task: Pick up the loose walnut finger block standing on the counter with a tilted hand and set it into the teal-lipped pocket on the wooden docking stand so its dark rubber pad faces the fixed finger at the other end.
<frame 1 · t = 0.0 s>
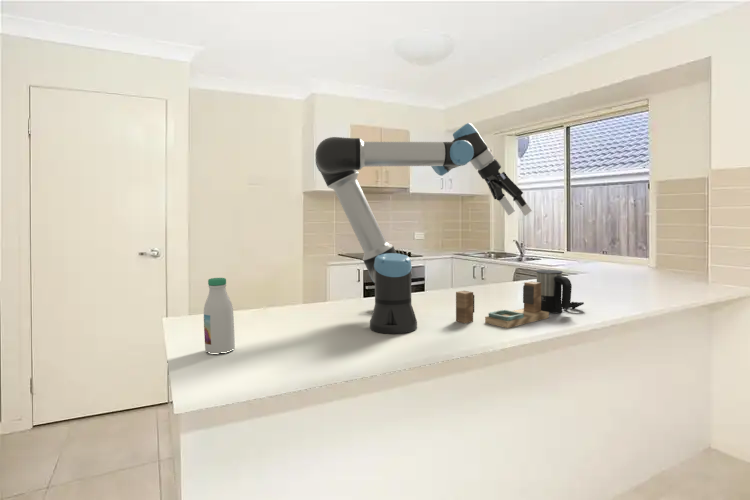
hand: (519, 213, 162), 36 cm above the countertop, fingers open, 13 cm apart
milk bottle: (220, 351, 125), on the countertop
wooden docking stand: (517, 320, 154), on the countertop
milk frother: (559, 311, 168), on the countertop
loose finger: (464, 321, 153), on the countertop
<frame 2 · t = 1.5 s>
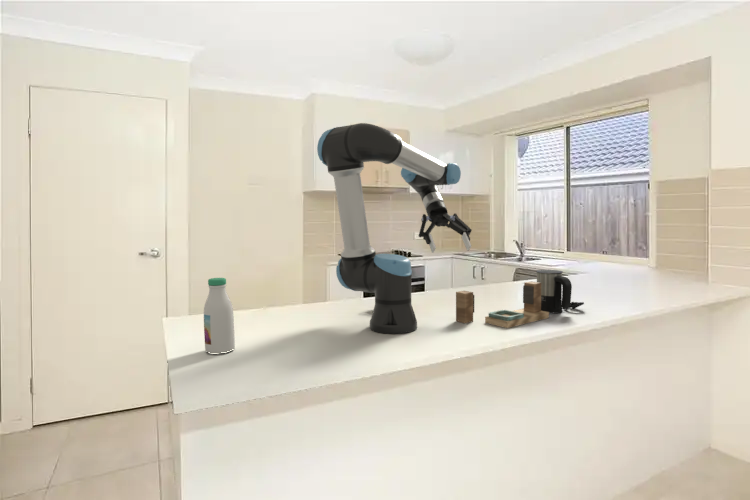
hand: (451, 249, 162), 23 cm above the countertop, fingers open, 13 cm apart
nothing on the countertop moved.
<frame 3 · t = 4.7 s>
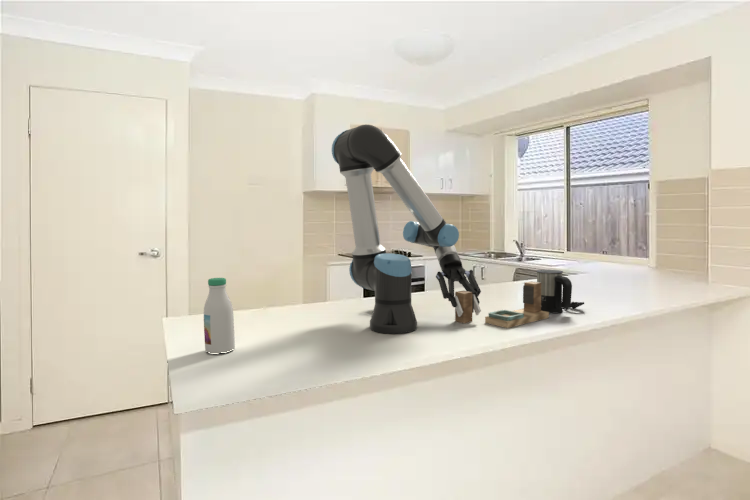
hand: (469, 313, 150), 3 cm above the countertop, fingers closed on loose finger, 6 cm apart
loose finger: (463, 321, 153), on the countertop, touching gripper
everything else where it was.
when the fingers open (7 cm above the countertop, at t = 8.6 s): loose finger drops 1 cm, resting on wooden docking stand.
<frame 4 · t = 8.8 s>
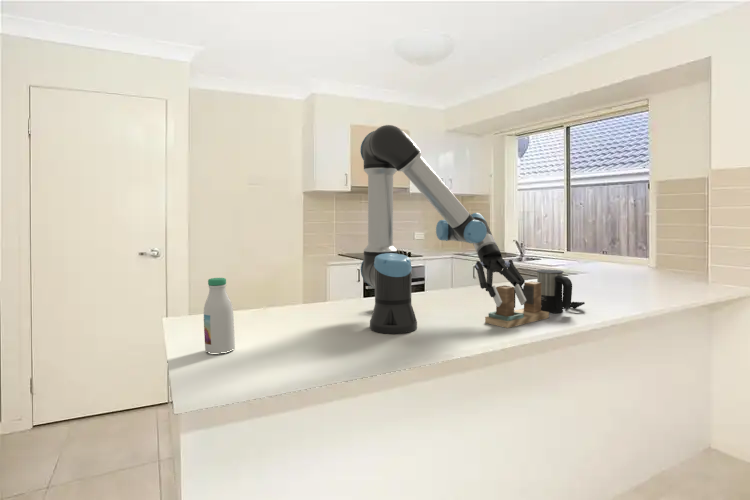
hand: (511, 303, 147), 7 cm above the countertop, fingers open, 8 cm apart
loose finger: (505, 316, 150), point 2 cm above the countertop, touching wooden docking stand
everything else where it was.
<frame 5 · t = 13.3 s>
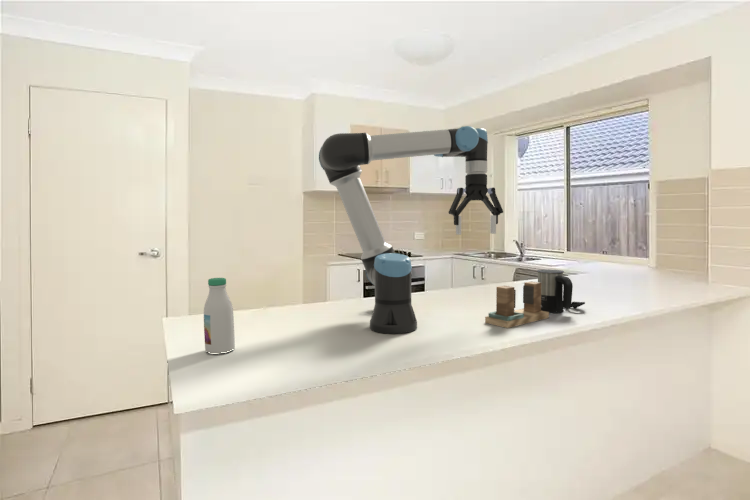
hand: (476, 234, 163), 29 cm above the countertop, fingers open, 13 cm apart
nothing on the countertop moved.
at the end: loose finger 0.3 cm from the target spot on the wooden docking stand, point 2.0 cm above the wooden docking stand's base; loose finger tilted 0°; the gripper is holding nothing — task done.
